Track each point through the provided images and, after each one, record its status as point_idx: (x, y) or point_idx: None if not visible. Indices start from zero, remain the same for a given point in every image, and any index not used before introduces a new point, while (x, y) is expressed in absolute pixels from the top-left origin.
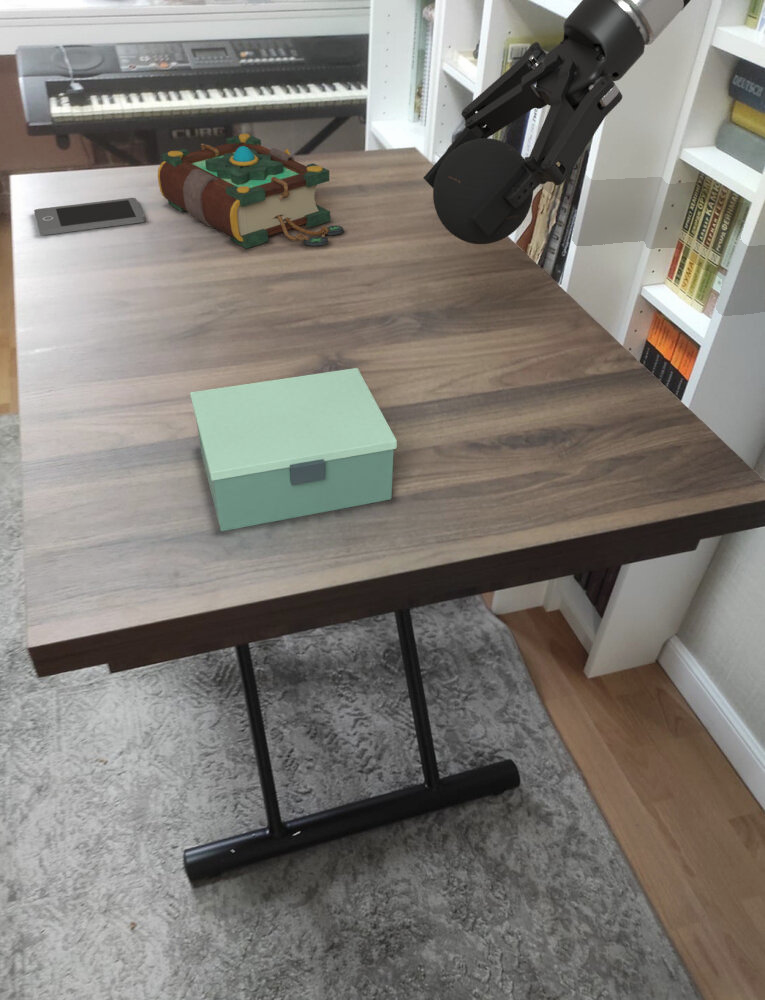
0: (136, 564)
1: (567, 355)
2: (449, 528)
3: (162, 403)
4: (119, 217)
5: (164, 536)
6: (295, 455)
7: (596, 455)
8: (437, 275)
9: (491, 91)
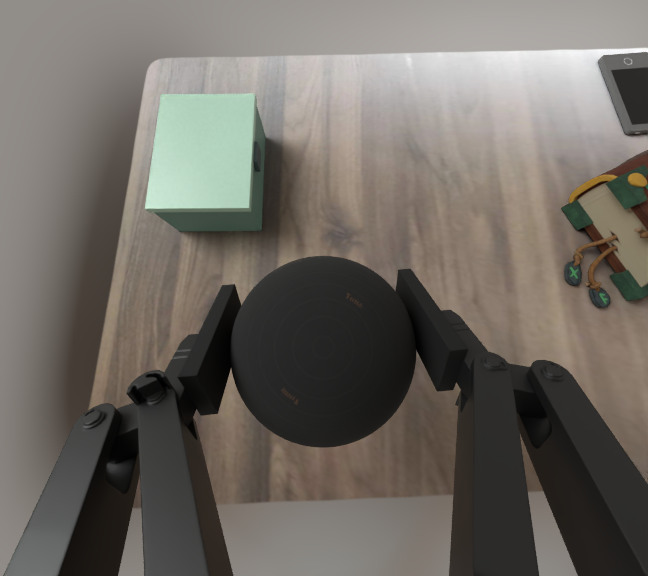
0: None
1: None
2: (141, 257)
3: (325, 122)
4: (630, 112)
5: None
6: (157, 142)
7: None
8: None
9: (598, 470)
